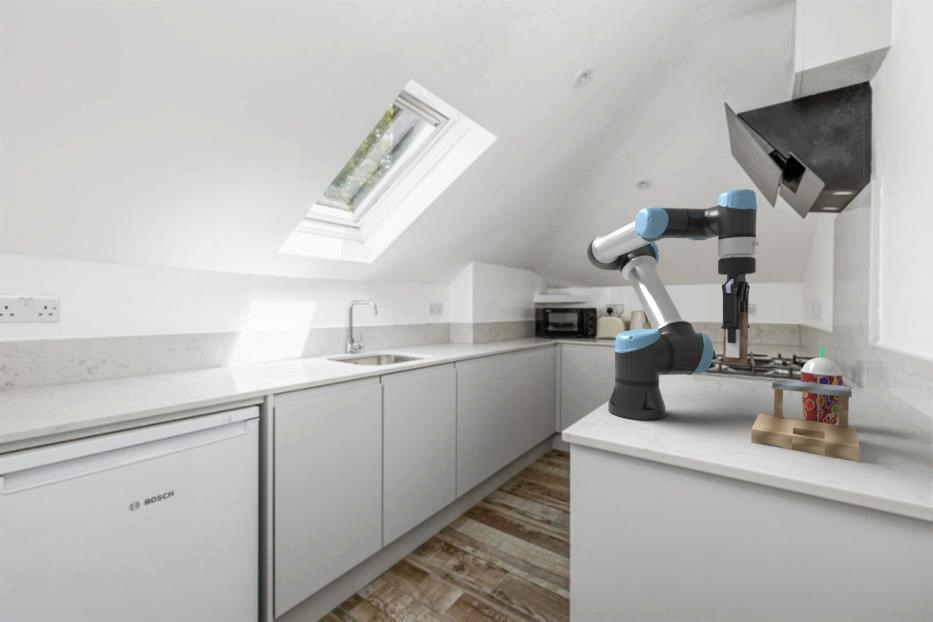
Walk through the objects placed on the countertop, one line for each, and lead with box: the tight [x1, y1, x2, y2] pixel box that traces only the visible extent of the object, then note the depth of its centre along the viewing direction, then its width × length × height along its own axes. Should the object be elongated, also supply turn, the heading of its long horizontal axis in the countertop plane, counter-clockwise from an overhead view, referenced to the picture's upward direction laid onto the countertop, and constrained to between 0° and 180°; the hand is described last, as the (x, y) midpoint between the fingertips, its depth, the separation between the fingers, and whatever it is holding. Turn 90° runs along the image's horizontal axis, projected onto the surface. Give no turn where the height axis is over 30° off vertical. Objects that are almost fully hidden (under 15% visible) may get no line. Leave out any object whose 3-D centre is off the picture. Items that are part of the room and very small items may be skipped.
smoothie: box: [800, 346, 844, 425], centre depth 108 cm, size 8×8×20 cm
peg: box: [722, 311, 749, 366], centre depth 100 cm, size 4×4×12 cm
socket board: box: [750, 378, 861, 463], centre depth 96 cm, size 18×16×12 cm
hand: (735, 355), depth 100 cm, fingers closed on peg, 4 cm apart
